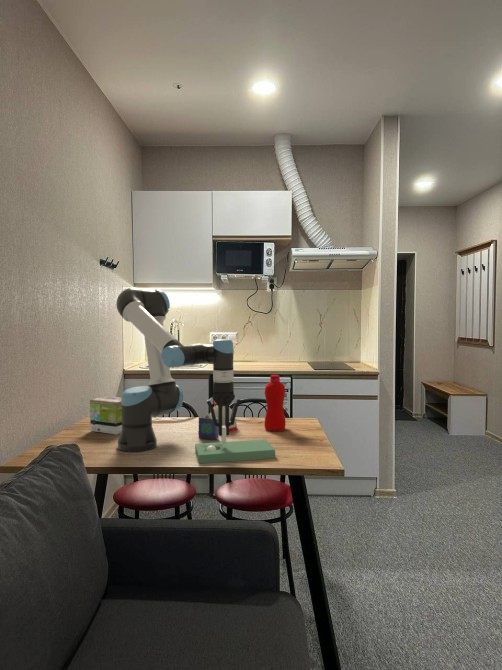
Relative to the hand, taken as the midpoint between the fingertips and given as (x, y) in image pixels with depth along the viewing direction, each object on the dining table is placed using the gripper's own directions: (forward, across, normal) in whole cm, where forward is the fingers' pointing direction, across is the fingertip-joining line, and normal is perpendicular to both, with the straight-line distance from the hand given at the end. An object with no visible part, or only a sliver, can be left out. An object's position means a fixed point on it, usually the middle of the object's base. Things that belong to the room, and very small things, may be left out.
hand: (223, 443), depth 165 cm
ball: (+2, -5, 0) cm, 5 cm away
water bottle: (+5, +29, +33) cm, 44 cm away
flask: (+5, -3, +24) cm, 25 cm away
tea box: (+5, -45, +47) cm, 65 cm away
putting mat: (+4, +4, 0) cm, 6 cm away
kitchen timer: (+5, +5, +39) cm, 40 cm away
